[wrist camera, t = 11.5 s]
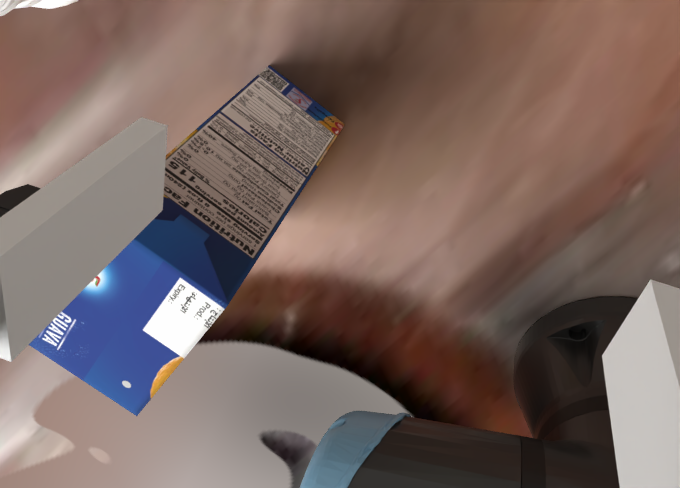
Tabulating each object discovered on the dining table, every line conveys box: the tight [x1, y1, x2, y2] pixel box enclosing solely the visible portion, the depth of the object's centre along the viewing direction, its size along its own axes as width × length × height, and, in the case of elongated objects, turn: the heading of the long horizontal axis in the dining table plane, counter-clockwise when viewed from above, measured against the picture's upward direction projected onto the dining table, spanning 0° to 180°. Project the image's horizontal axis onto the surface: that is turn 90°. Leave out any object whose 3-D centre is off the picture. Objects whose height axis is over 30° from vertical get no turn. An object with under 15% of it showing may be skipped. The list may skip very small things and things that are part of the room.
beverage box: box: [29, 65, 345, 416], centre depth 40 cm, size 7×11×22 cm, turn 145°
